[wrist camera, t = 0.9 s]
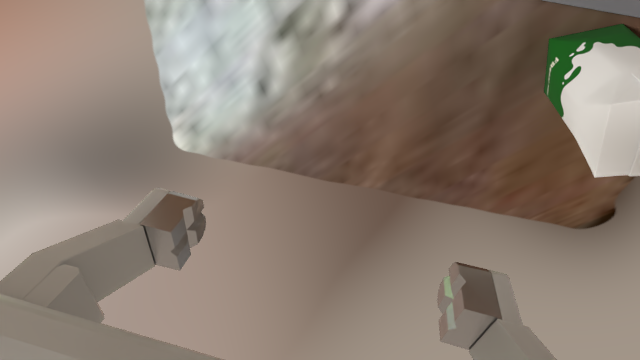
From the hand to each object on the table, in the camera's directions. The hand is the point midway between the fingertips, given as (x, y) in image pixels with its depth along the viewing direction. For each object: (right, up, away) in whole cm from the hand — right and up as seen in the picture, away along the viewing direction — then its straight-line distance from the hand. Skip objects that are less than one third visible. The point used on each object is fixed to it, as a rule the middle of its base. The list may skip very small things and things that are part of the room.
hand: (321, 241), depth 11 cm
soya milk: (+32, +17, +30) cm, 47 cm away
